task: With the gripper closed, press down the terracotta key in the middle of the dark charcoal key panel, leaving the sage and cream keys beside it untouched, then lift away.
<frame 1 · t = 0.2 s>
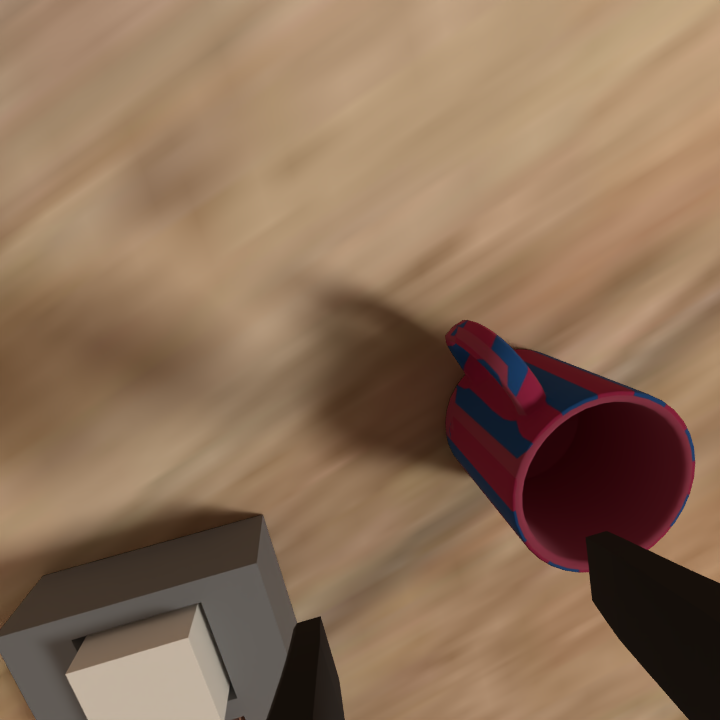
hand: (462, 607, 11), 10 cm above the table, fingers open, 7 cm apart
key panel: (216, 701, 23), on the table
cream key: (156, 674, 18), point 4 cm above the table, slide at 0.0 cm
mug: (493, 389, 21), on the table
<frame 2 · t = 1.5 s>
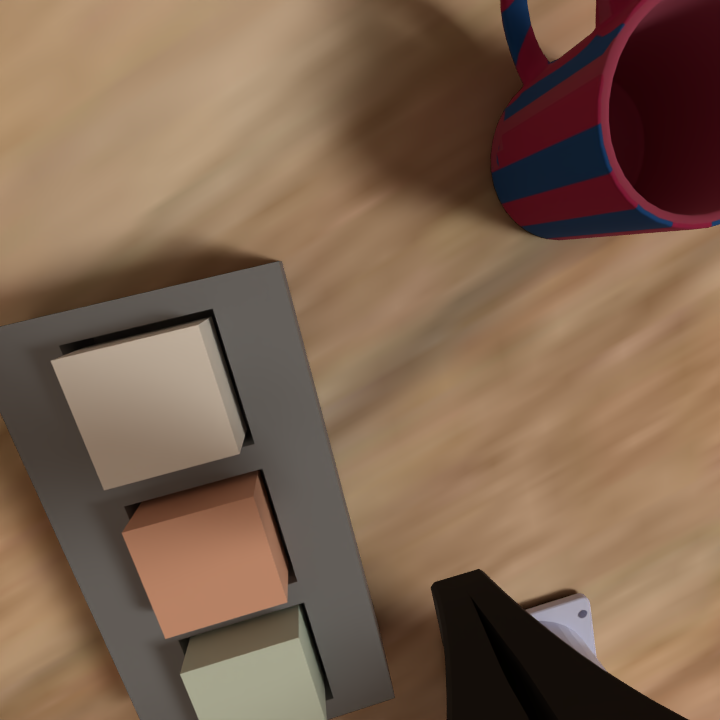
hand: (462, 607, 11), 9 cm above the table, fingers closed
sage key: (259, 675, 18), point 4 cm above the table, slide at 0.0 cm
key panel: (228, 498, 20), on the table
cream key: (160, 399, 15), point 4 cm above the table, slide at 0.0 cm
mug: (544, 123, 19), on the table
terracotta key: (214, 549, 16), point 4 cm above the table, slide at 0.0 cm
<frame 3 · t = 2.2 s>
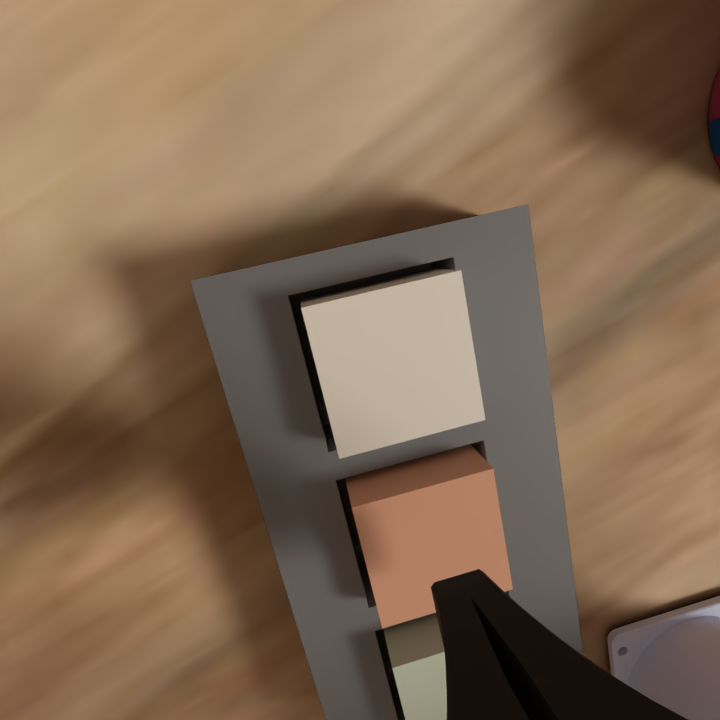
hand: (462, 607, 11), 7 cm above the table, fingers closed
sage key: (456, 670, 16), point 4 cm above the table, slide at 0.0 cm
key panel: (401, 478, 18), on the table
cream key: (390, 358, 13), point 4 cm above the table, slide at 0.0 cm
terracotta key: (426, 529, 15), point 4 cm above the table, slide at 0.0 cm
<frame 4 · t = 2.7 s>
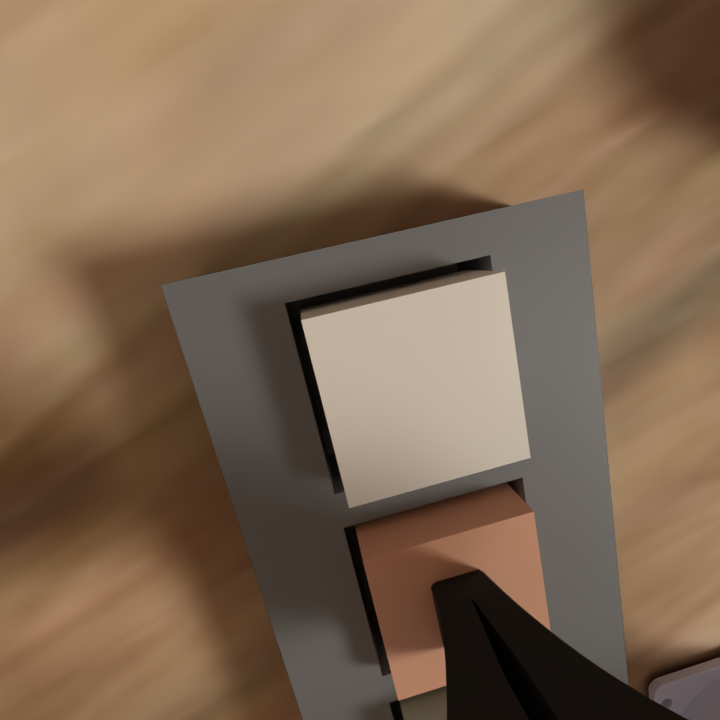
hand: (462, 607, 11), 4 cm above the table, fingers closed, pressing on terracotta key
key panel: (418, 513, 16), on the table
cream key: (411, 381, 11), point 4 cm above the table, slide at 0.0 cm
terracotta key: (449, 579, 12), point 3 cm above the table, slide at 0.2 cm, touching gripper
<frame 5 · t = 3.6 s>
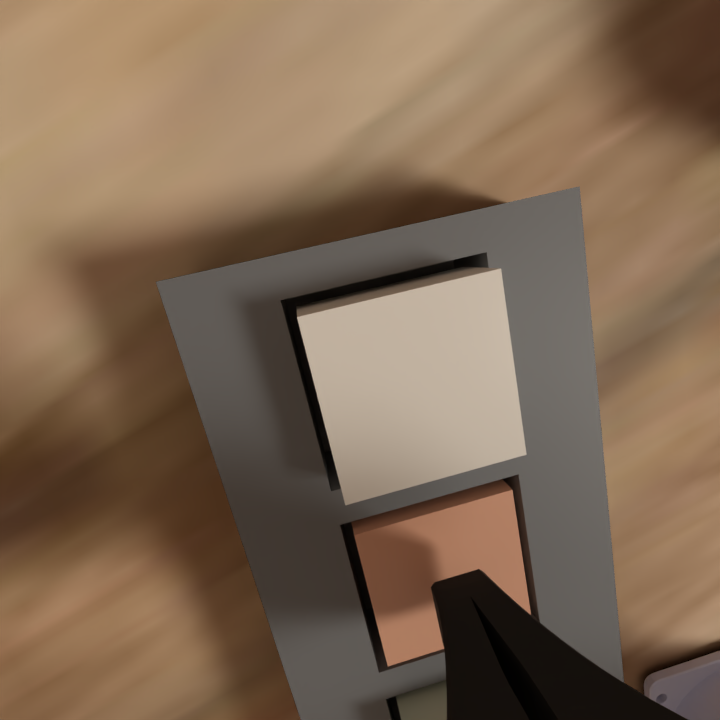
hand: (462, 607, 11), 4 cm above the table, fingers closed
key panel: (414, 510, 16), on the table
cream key: (408, 378, 11), point 4 cm above the table, slide at 0.0 cm
terracotta key: (436, 555, 13), point 2 cm above the table, slide at 1.1 cm
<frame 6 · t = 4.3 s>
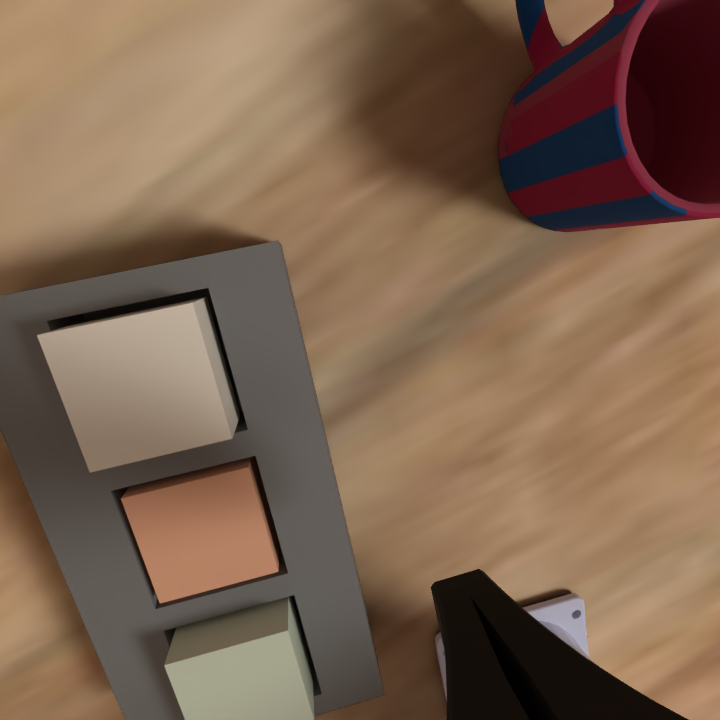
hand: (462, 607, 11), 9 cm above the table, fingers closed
sage key: (245, 668, 17), point 4 cm above the table, slide at 0.0 cm
key panel: (219, 487, 19), on the table
cream key: (151, 380, 14), point 4 cm above the table, slide at 0.0 cm
mug: (554, 111, 18), on the table
terracotta key: (208, 519, 17), point 2 cm above the table, slide at 1.1 cm
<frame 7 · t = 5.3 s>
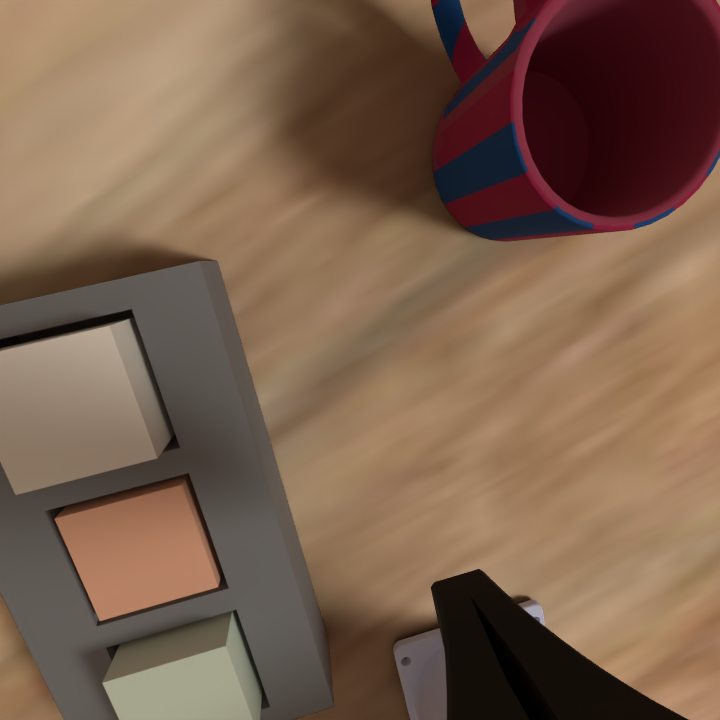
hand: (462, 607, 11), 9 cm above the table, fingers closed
sage key: (190, 683, 17), point 4 cm above the table, slide at 0.0 cm
key panel: (167, 502, 20), on the table
cream key: (78, 401, 15), point 4 cm above the table, slide at 0.0 cm
mug: (488, 122, 18), on the table
terracotta key: (149, 536, 17), point 2 cm above the table, slide at 1.1 cm
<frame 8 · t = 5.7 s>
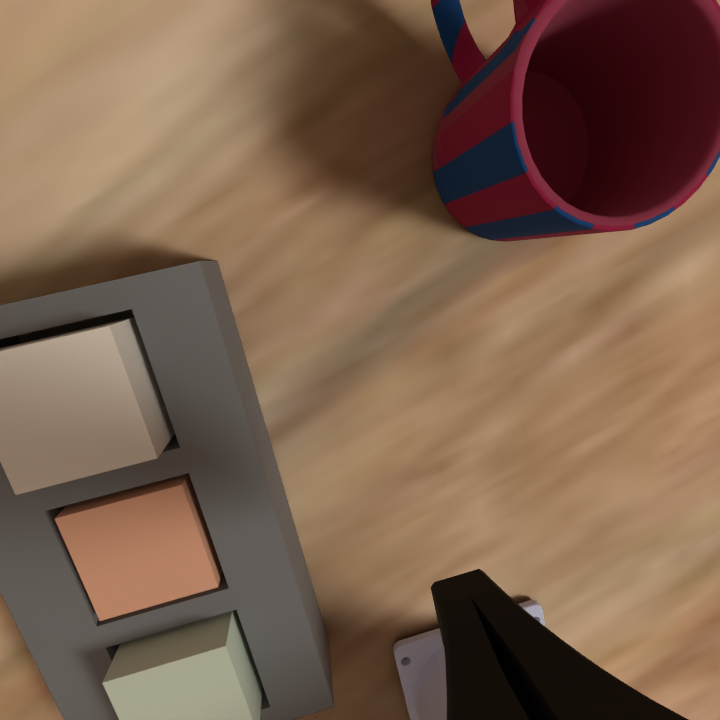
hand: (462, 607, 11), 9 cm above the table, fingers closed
sage key: (190, 683, 17), point 4 cm above the table, slide at 0.0 cm
key panel: (167, 502, 20), on the table
cream key: (78, 401, 15), point 4 cm above the table, slide at 0.0 cm
mug: (488, 122, 18), on the table
terracotta key: (149, 536, 17), point 2 cm above the table, slide at 1.1 cm
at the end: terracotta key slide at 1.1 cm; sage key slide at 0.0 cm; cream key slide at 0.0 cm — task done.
